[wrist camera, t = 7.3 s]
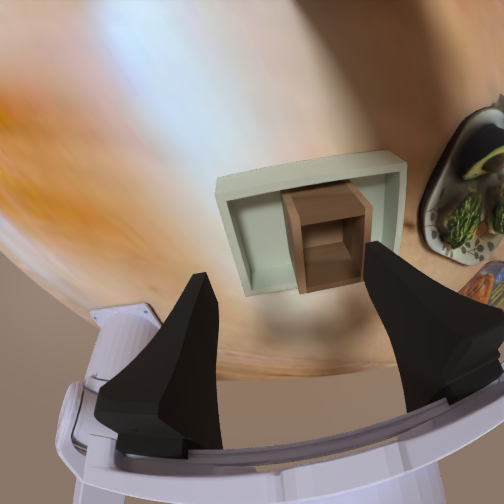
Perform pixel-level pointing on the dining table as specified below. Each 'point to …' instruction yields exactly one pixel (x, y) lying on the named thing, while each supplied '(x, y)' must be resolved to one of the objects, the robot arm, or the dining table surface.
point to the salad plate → (468, 190)
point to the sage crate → (272, 218)
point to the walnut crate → (326, 233)
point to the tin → (487, 285)
